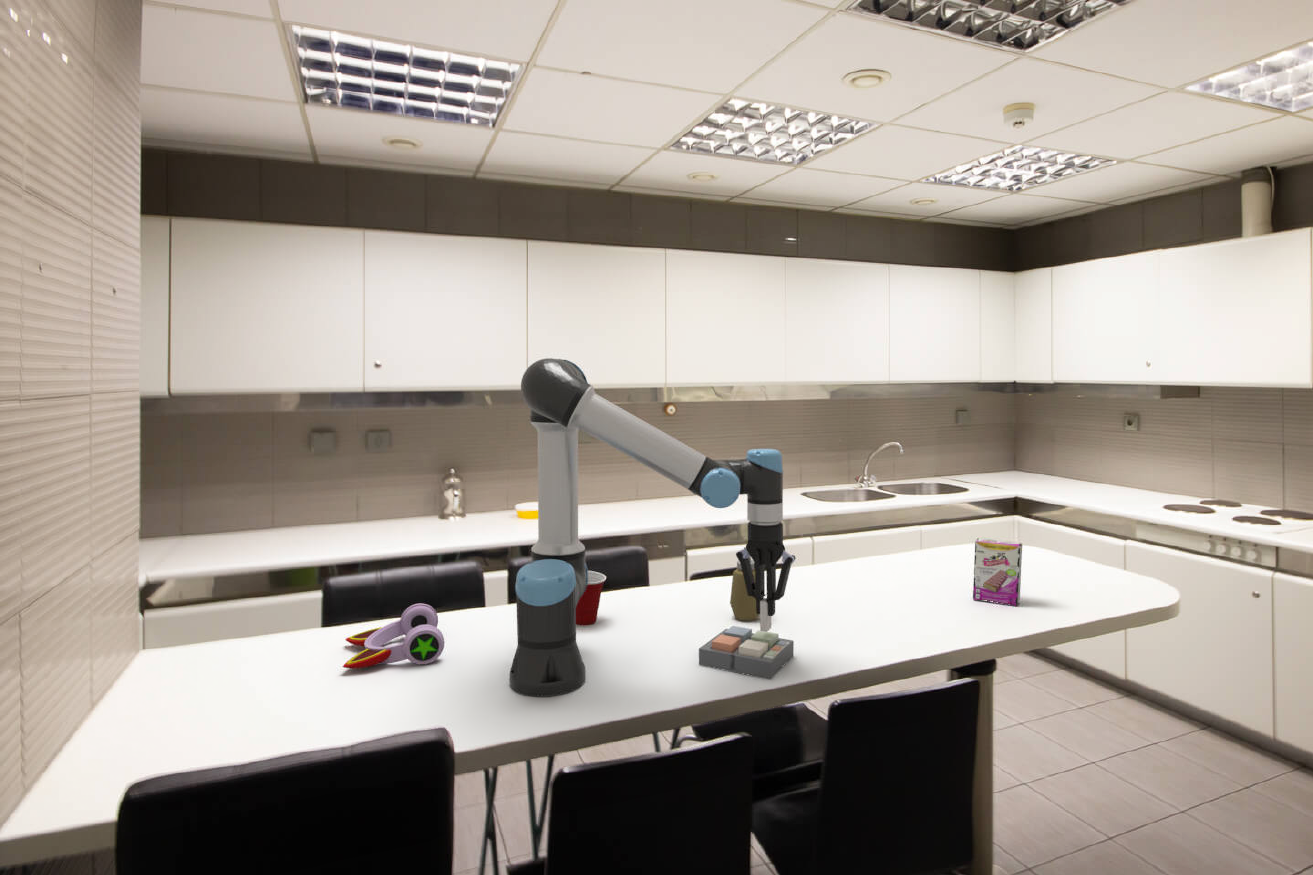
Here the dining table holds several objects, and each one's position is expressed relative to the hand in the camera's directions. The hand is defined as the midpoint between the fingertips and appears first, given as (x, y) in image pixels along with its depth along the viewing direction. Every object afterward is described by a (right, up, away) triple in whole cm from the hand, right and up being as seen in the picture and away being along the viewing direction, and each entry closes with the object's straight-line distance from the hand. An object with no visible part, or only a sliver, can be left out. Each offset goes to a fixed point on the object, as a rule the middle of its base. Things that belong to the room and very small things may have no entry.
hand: (765, 629), depth 158 cm
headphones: (-82, -7, +5) cm, 83 cm away
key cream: (-3, -5, -5) cm, 8 cm away
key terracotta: (-9, -5, -2) cm, 10 cm away
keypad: (-4, -6, -1) cm, 8 cm away
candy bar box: (+68, -3, +39) cm, 78 cm away
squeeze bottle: (-1, -4, +27) cm, 28 cm away
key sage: (0, -4, 0) cm, 4 cm away
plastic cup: (-41, -5, +25) cm, 48 cm away
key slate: (-6, -4, +3) cm, 8 cm away
